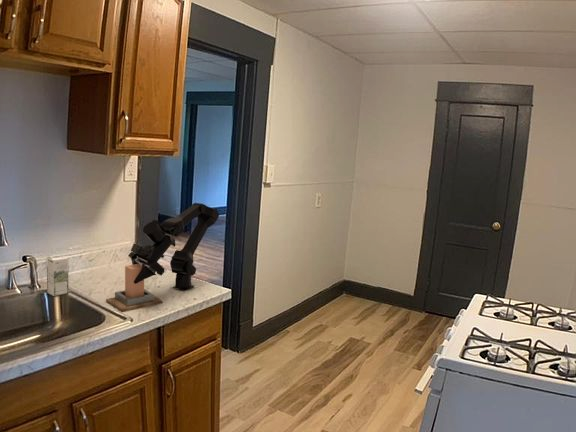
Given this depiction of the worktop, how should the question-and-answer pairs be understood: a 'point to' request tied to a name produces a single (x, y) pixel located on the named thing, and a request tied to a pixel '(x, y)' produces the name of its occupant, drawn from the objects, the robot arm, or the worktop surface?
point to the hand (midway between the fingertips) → (131, 281)
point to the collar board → (132, 301)
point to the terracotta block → (130, 276)
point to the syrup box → (57, 275)
